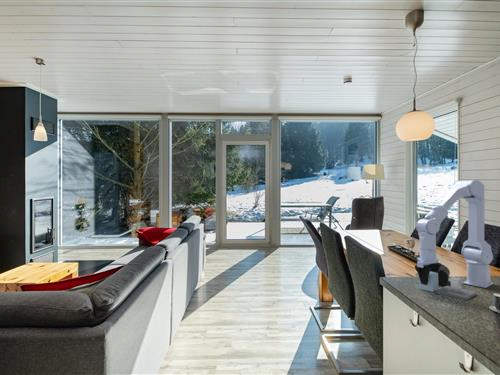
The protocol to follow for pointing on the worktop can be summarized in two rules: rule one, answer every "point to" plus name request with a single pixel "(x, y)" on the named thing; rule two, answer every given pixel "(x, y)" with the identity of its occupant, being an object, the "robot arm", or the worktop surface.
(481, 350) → the worktop surface
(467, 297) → the board
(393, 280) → the worktop surface
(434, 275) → the pale blue cube
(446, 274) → the end cap
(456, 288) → the post
